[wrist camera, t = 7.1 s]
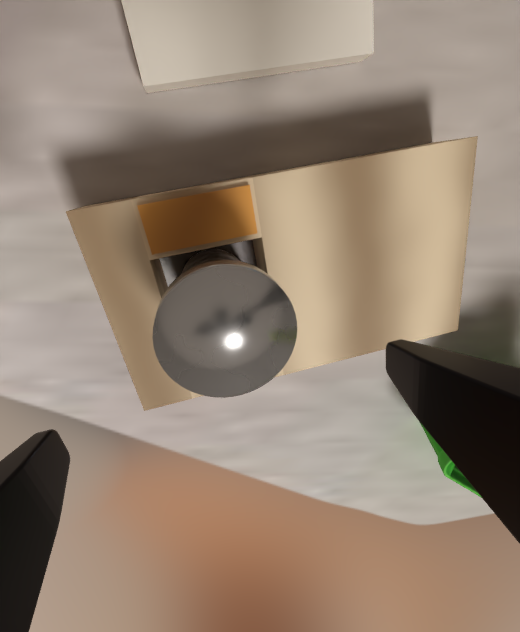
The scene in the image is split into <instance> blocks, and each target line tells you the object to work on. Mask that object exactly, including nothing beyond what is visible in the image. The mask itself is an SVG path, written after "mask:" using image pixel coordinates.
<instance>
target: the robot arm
mask: <svg viewBox="0 0 520 632" xmlns="http://www.w3.org/2000/svg"><path fill="white" fill-rule="evenodd" d="M386 370H387V373H388V375H389V377H390V378H391V380H392V381H393V383H394V385H395V386H396V388H397V389H398V391H399V392H400V394H401V395H402V397H403V398H404V400H405V401H406V403H407V404H408V406H409V407H410V409H411V410H412V412H413V413H414V415H415V416H416V418H417V419H418V420H419V421H420V423H421V424H422V425H423V426H424V428H425V429H426V430H427V431H428V433H429V434H430V435H431V436H432V437H433V439H434V440H435V441H436V442H437V444H438V445H439V446H440V447H441V448H442V450H443V451H444V452H445V453H446V454H447V456H448V457H449V458H450V459H451V461H452V462H453V463H454V464H455V465H456V467H457V468H458V469H459V470H460V472H461V473H462V474H463V475H464V476H465V478H466V479H467V480H468V481H469V482H470V484H471V485H472V486H473V487H474V489H475V490H476V491H477V492H478V493H479V495H480V496H481V497H482V498H483V500H484V501H485V502H486V503H487V504H488V506H489V507H490V508H491V509H492V510H493V512H494V513H495V514H496V515H497V517H498V518H499V519H500V520H501V521H502V523H503V524H504V525H505V526H506V528H507V529H508V530H509V531H510V532H511V534H512V535H513V536H514V537H515V538H516V540H517V541H518V542H519V543H520V368H516V367H512V366H508V365H504V364H500V363H496V362H492V361H488V360H484V359H480V358H476V357H472V356H468V355H464V354H460V353H456V352H451V351H447V350H443V349H439V348H435V347H431V346H427V345H423V344H419V343H415V342H411V341H407V340H403V339H399V340H395V341H391V342H388V343H387V345H386ZM69 464H70V456H69V452H68V450H67V448H66V447H65V445H64V443H63V441H62V439H61V438H60V436H59V434H58V432H57V431H55V430H53V429H51V430H47V431H43V432H39V433H36V434H34V435H33V436H32V437H30V438H29V439H28V440H27V441H25V442H24V443H23V444H22V445H20V446H19V447H18V448H17V449H15V450H14V451H13V452H12V453H10V454H9V455H8V456H6V457H5V458H4V459H3V460H1V461H0V632H29V629H30V625H31V622H32V618H33V614H34V611H35V607H36V604H37V600H38V597H39V593H40V590H41V586H42V583H43V579H44V575H45V572H46V568H47V565H48V561H49V558H50V554H51V551H52V547H53V543H54V539H55V536H56V532H57V529H58V525H59V521H60V515H61V511H62V505H63V499H64V493H65V488H66V482H67V476H68V470H69Z"/></svg>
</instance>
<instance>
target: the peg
mask: <svg viewBox="0 0 520 632" xmlns="http://www.w3.org/2000/svg"><path fill="white" fill-rule="evenodd" d="M152 338H153V347H154V350H155V354H156V357H157V359H158V361H159V363H160V365H161V367H162V368H163V370H164V371H165V372H166V373H167V375H168V376H169V377H170V378H171V379H172V380H173V381H175V382H176V383H177V384H179V385H180V386H182V387H183V388H185V389H187V390H189V391H191V392H194V393H197V394H200V395H204V396H210V397H233V396H238V395H242V394H245V393H248V392H251V391H253V390H256V389H258V388H260V387H261V386H263V385H265V384H266V383H268V382H269V381H270V380H272V379H273V378H274V377H275V376H276V375H277V374H278V373H279V372H280V371H281V370H282V369H283V367H284V366H285V364H286V363H287V362H288V360H289V358H290V356H291V354H292V352H293V349H294V346H295V343H296V338H297V319H296V314H295V311H294V308H293V305H292V303H291V301H290V299H289V298H288V296H287V295H286V293H285V292H284V291H283V289H282V288H281V287H280V286H279V285H278V283H277V282H276V281H275V280H274V279H273V278H272V277H271V276H270V275H268V274H267V273H266V272H264V271H263V270H261V269H259V268H258V267H256V266H253V265H251V264H248V263H245V262H241V261H239V260H238V259H237V258H236V257H235V256H234V255H233V254H231V253H229V252H227V251H224V250H221V249H207V250H203V251H201V252H198V253H197V254H195V255H194V256H192V257H191V258H190V259H189V260H188V262H187V263H186V264H185V266H184V268H183V271H182V274H181V275H180V276H179V277H178V278H176V279H175V280H174V281H173V282H172V283H171V284H170V286H169V287H168V288H167V290H166V291H165V292H164V294H163V296H162V298H161V300H160V303H159V305H158V308H157V312H156V316H155V320H154V325H153V337H152Z"/></svg>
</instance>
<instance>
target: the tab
mask: <svg viewBox="0 0 520 632" xmlns="http://www.w3.org/2000/svg"><path fill="white" fill-rule="evenodd" d="M121 2H122V5H123V9H124V13H125V17H126V21H127V25H128V29H129V32H130V36H131V40H132V44H133V48H134V52H135V56H136V59H137V63H138V67H139V71H140V75H141V79H142V83H143V86H144V88H145V90H146V92H147V93H153V92H160V91H167V90H173V89H180V88H187V87H194V86H201V85H207V84H214V83H221V82H228V81H234V80H241V79H248V78H255V77H262V76H268V75H275V74H282V73H289V72H296V71H302V70H309V69H316V68H323V67H330V66H336V65H343V64H350V63H357V62H361V61H363V60H364V59H366V58H367V57H369V56H370V55H372V54H373V53H374V26H373V0H121Z"/></svg>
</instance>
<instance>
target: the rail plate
mask: <svg viewBox="0 0 520 632" xmlns="http://www.w3.org/2000/svg"><path fill="white" fill-rule="evenodd" d="M477 137H478V136H476V137H469V138H462V139H455V140H448V141H441V142H434V143H428V144H423V145H417V146H412V147H406V148H401V149H395V150H390V151H384V152H379V153H373V154H368V155H362V156H357V157H351V158H346V159H340V160H335V161H329V162H324V163H318V164H313V165H307V166H302V167H296V168H291V169H285V170H280V171H274V172H269V173H264V174H258V175H253V176H247V177H242V178H236V179H231V180H225V181H220V182H214V183H209V184H203V185H198V186H192V187H187V188H181V189H176V190H170V191H165V192H159V193H154V194H148V195H143V196H137V197H132V198H126V199H121V200H115V201H110V202H104V203H99V204H93V205H88V206H84V207H81V208H77V209H73V210H70V211H66V213H67V216H68V218H69V221H70V223H71V226H72V229H73V231H74V234H75V236H76V239H77V241H78V244H79V246H80V249H81V251H82V254H83V256H84V259H85V261H86V264H87V267H88V269H89V272H90V274H91V277H92V279H93V282H94V284H95V287H96V289H97V292H98V294H99V297H100V300H101V302H102V305H103V307H104V310H105V312H106V315H107V317H108V320H109V322H110V325H111V327H112V330H113V332H114V335H115V338H116V340H117V343H118V345H119V348H120V350H121V353H122V355H123V358H124V360H125V363H126V365H127V368H128V370H129V373H130V376H131V378H132V381H133V383H134V386H135V388H136V391H137V393H138V396H139V398H140V401H141V403H142V406H143V409H144V411H145V410H149V409H153V408H157V407H161V406H165V405H169V404H173V403H177V402H180V401H184V400H188V399H192V398H196V397H200V396H204V395H200V394H197V393H194V392H191V391H189V390H187V389H185V388H183V387H182V386H180V385H179V384H177V383H176V382H175V381H173V380H172V379H171V378H170V377H169V376H168V375H167V373H166V372H165V371H164V370H163V368H162V367H161V365H160V363H159V361H158V359H157V357H156V354H155V350H154V347H153V338H152V337H153V325H154V320H155V316H156V312H157V308H158V305H159V303H160V300H161V298H162V296H163V294H164V292H165V291H166V290H167V288H168V286H167V283H166V279H165V276H164V273H163V269H162V266H161V262H160V259H159V258H164V257H168V256H173V255H178V254H183V253H188V252H193V251H198V250H203V249H207V248H212V247H217V246H222V245H227V244H232V243H237V242H242V241H246V240H251V239H253V245H254V251H255V257H256V263H257V267H258V268H259V269H261V270H263V271H264V272H266V273H267V274H268V275H270V276H271V277H272V278H273V279H274V280H275V281H276V282H277V283H278V285H279V286H280V287H281V288H282V289H283V291H284V292H285V293H286V295H287V296H288V298H289V299H290V301H291V303H292V305H293V308H294V311H295V314H296V319H297V338H296V343H295V346H294V349H293V352H292V354H291V356H290V358H289V360H288V362H287V363H286V364H285V366H284V367H283V369H282V370H281V371H280V372H279V373H278V374H277V375H276V376H275V377H278V376H282V375H286V374H290V373H293V372H297V371H301V370H305V369H309V368H313V367H317V366H321V365H325V364H329V363H332V362H336V361H340V360H344V359H348V358H352V357H356V356H360V355H364V354H367V353H371V352H375V351H379V350H383V349H386V345H387V343H388V342H391V341H395V340H399V339H403V340H407V341H411V342H414V341H418V340H422V339H426V338H430V337H434V336H438V335H441V334H445V333H449V332H453V331H457V330H458V323H459V313H460V304H461V294H462V284H463V274H464V264H465V255H466V245H467V235H468V225H469V215H470V206H471V196H472V186H473V176H474V166H475V157H476V147H477Z"/></svg>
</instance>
